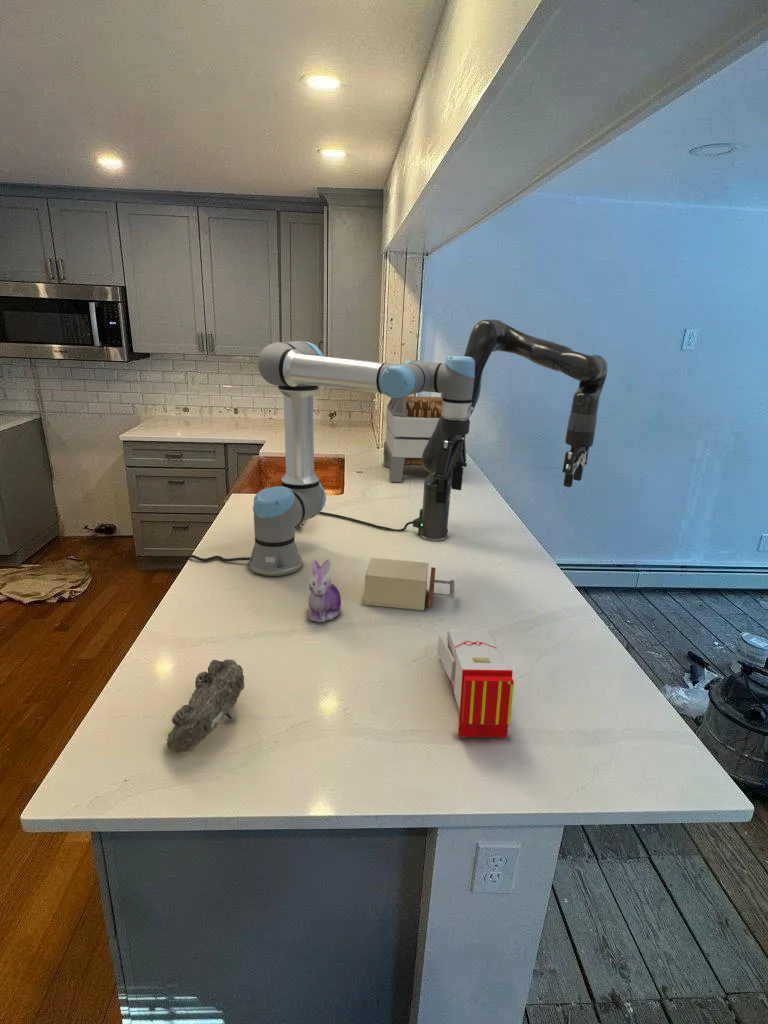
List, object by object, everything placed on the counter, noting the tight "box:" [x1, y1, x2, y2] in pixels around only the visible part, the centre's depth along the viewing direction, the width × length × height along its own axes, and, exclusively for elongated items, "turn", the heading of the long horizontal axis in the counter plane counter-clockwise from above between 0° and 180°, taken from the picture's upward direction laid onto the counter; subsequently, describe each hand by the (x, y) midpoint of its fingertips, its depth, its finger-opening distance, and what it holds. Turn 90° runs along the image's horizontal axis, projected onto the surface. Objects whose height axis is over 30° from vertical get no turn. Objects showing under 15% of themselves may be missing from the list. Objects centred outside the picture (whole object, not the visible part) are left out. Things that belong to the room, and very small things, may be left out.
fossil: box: [166, 658, 245, 754], centre depth 106 cm, size 22×10×15 cm
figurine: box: [308, 558, 342, 623], centre depth 143 cm, size 9×10×15 cm
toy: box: [437, 628, 515, 738], centre depth 117 cm, size 12×13×30 cm
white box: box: [383, 393, 443, 483], centre depth 268 cm, size 34×33×41 cm
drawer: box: [427, 566, 456, 608], centre depth 154 cm, size 20×10×7 cm, turn 83°
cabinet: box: [363, 557, 429, 611], centre depth 154 cm, size 16×11×9 cm
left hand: (448, 495), depth 154 cm, fingers open, 13 cm apart
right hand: (572, 483), depth 165 cm, fingers open, 8 cm apart
